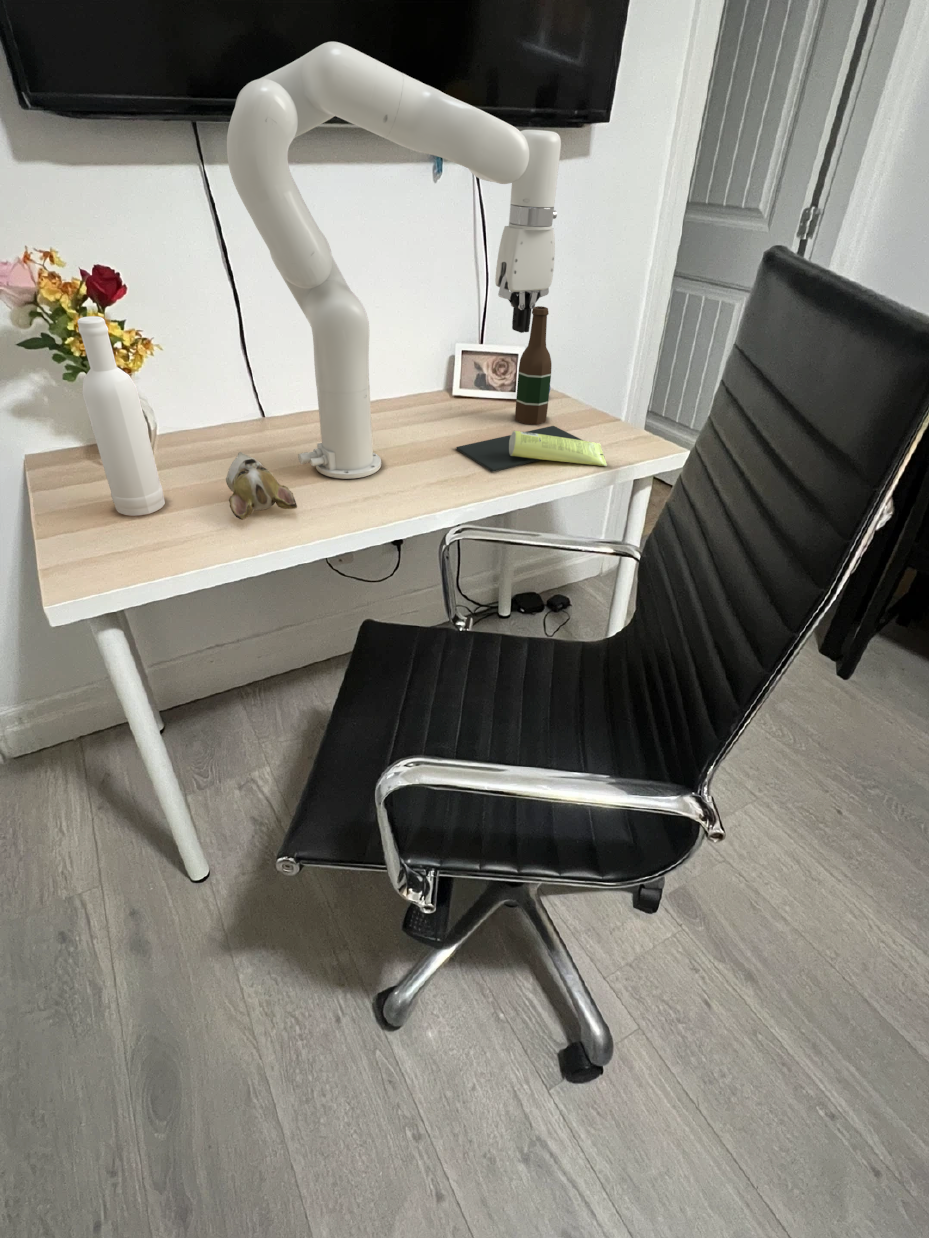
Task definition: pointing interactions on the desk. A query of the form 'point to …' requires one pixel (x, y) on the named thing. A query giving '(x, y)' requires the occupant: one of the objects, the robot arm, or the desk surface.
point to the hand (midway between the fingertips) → (520, 330)
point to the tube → (555, 448)
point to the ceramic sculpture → (255, 488)
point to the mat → (504, 450)
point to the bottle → (118, 425)
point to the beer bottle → (534, 373)
